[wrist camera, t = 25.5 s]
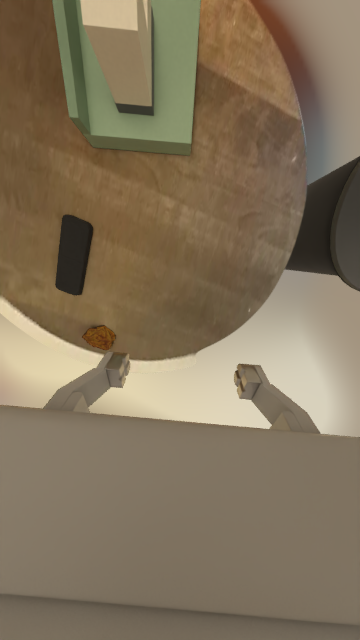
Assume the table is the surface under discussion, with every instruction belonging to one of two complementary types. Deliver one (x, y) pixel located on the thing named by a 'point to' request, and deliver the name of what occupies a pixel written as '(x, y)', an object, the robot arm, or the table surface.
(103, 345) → the leaf
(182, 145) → the green l-shaped bracket
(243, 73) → the table surface
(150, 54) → the beige stepped block
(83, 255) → the remote control
